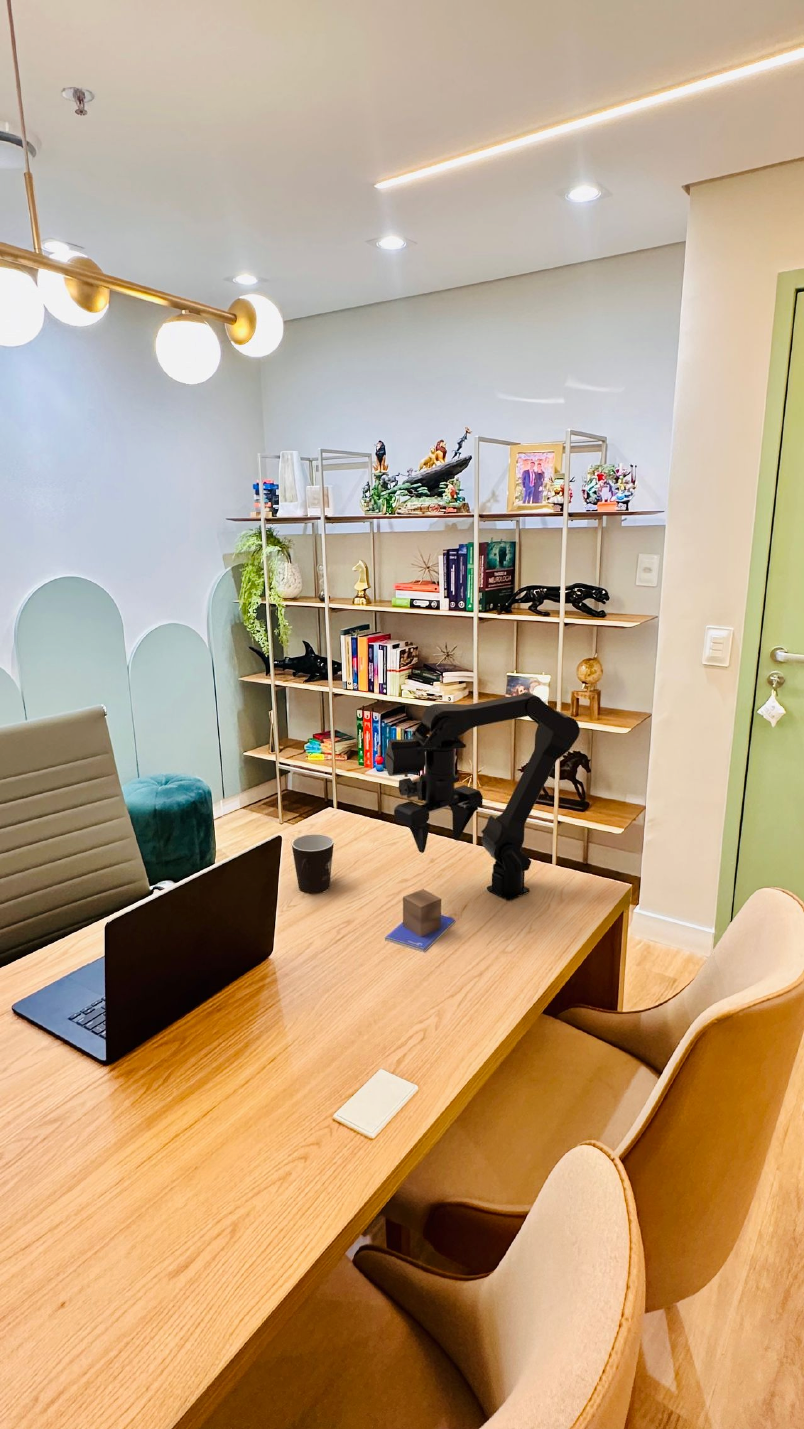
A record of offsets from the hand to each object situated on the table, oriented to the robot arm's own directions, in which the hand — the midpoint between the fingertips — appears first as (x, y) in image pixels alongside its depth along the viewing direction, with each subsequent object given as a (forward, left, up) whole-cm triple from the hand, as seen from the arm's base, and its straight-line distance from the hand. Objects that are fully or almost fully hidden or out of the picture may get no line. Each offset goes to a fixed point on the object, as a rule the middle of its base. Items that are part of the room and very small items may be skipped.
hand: (438, 845), depth 153 cm
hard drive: (+10, +6, -13) cm, 18 cm away
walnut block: (+10, +6, -11) cm, 16 cm away
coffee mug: (+17, -21, -12) cm, 30 cm away
